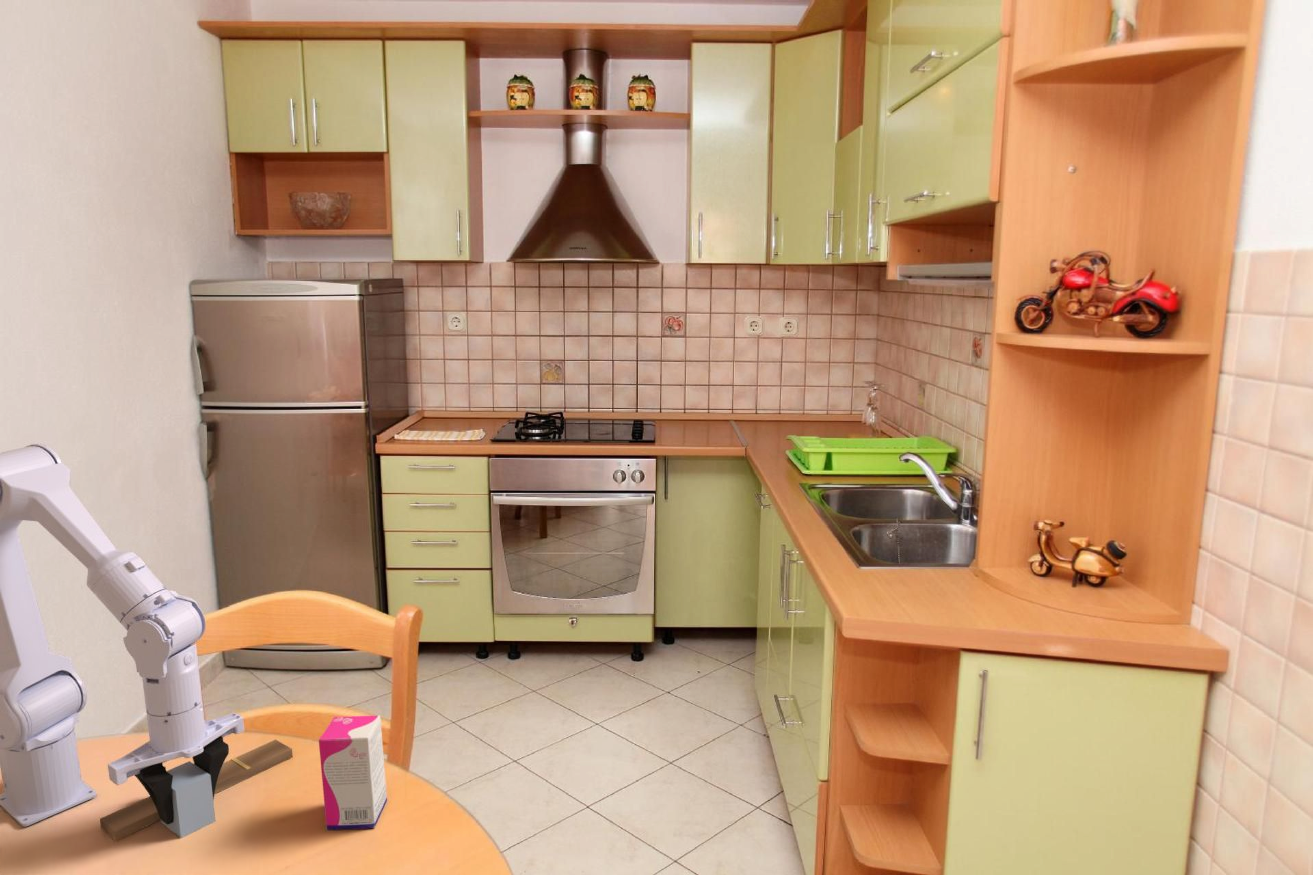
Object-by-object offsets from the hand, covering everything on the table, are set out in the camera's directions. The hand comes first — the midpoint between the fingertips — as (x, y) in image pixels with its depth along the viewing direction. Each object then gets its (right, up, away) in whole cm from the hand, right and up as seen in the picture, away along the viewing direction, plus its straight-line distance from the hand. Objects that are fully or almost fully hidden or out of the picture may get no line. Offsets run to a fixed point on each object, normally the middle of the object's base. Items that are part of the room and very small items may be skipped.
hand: (187, 810), depth 105 cm
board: (-1, 0, +7) cm, 7 cm away
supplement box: (+20, -1, +1) cm, 20 cm away
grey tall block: (-2, -1, +2) cm, 3 cm away
